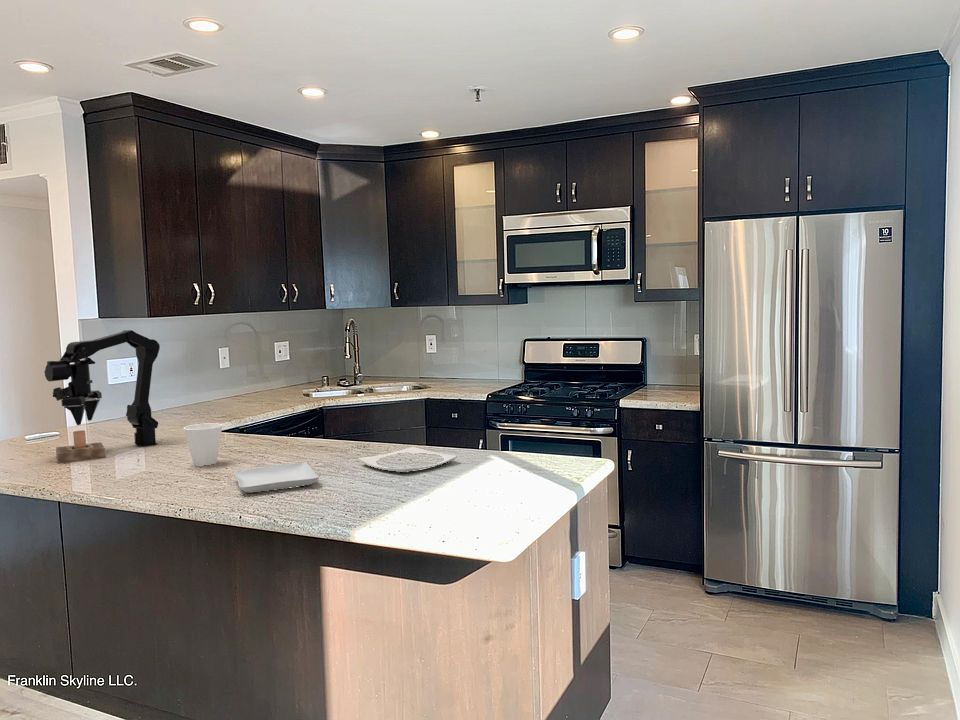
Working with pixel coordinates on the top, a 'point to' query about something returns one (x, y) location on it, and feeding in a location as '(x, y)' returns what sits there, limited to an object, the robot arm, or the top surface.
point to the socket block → (80, 453)
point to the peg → (79, 439)
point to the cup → (203, 442)
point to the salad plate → (275, 477)
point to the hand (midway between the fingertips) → (84, 422)
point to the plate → (372, 460)
